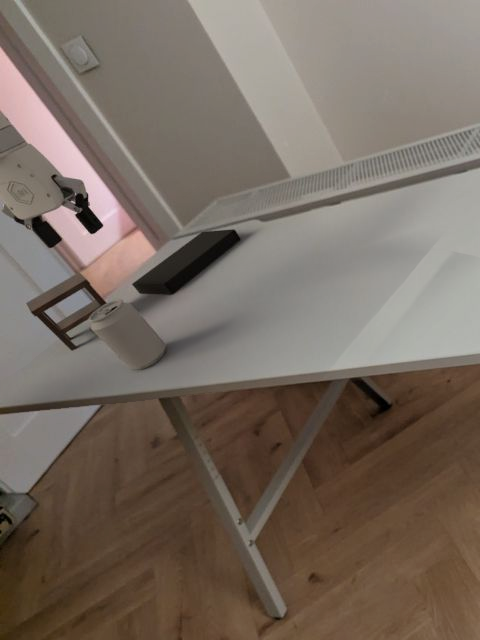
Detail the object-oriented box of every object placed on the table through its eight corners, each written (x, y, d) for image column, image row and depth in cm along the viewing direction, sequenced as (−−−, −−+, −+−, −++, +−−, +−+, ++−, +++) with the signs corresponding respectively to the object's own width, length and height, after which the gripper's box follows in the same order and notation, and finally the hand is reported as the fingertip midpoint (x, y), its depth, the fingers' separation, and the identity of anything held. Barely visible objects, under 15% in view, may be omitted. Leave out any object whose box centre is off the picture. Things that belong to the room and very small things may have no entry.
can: (153, 369, 97) (106, 318, 90) (123, 375, 100) (75, 325, 93) (176, 342, 103) (133, 292, 96) (147, 348, 105) (103, 299, 98)
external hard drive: (139, 293, 131) (131, 283, 129) (208, 241, 145) (201, 231, 143) (172, 294, 123) (163, 284, 122) (241, 239, 137) (234, 229, 135)
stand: (70, 351, 117) (30, 312, 111) (64, 340, 123) (25, 303, 117) (122, 318, 122) (86, 279, 116) (113, 310, 128) (79, 272, 122)
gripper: (-59, 170, 86) (27, 259, 96) (21, 137, 82) (102, 235, 92) (-24, 153, 92) (54, 239, 102) (53, 122, 88) (126, 215, 98)
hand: (76, 237), depth 97 cm, fingers open, 9 cm apart
